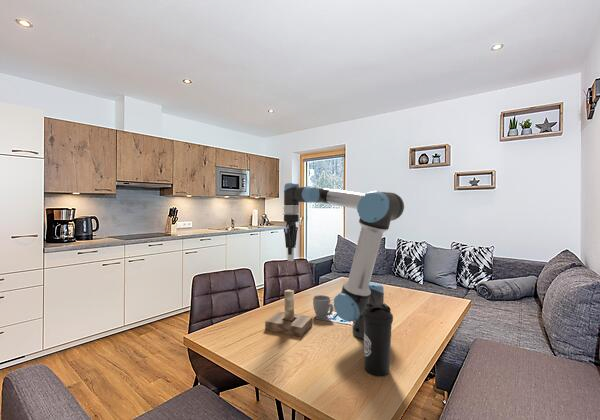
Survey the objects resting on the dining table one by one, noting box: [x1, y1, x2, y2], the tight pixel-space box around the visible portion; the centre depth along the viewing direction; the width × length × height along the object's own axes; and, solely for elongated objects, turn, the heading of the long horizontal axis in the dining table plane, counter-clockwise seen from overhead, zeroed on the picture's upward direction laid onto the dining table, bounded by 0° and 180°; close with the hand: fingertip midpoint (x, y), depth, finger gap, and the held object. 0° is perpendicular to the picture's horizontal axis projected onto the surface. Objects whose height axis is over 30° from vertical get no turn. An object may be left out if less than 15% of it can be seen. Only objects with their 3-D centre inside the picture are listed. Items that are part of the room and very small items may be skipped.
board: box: [264, 310, 313, 337], centre depth 141 cm, size 18×14×4 cm
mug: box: [312, 294, 334, 319], centre depth 155 cm, size 12×9×10 cm
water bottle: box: [363, 303, 394, 377], centre depth 106 cm, size 10×10×23 cm
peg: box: [284, 289, 295, 322], centre depth 141 cm, size 4×4×16 cm
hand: (290, 260), depth 152 cm, fingers closed
